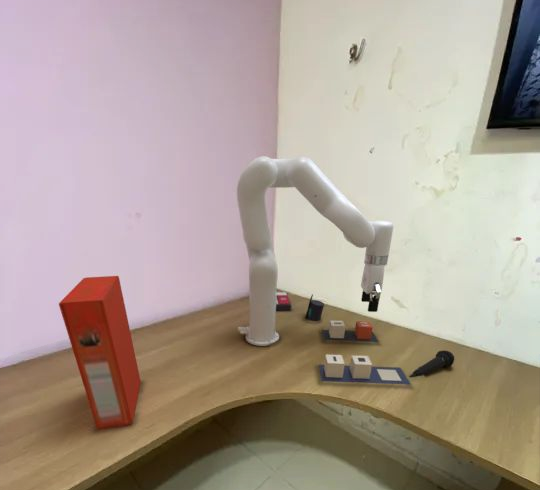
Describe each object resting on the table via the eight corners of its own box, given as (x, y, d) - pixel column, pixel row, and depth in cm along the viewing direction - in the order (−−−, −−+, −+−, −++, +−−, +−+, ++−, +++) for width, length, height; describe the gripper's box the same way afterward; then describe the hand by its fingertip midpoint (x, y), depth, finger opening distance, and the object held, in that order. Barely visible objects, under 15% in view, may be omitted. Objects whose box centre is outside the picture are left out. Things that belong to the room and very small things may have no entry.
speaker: (300, 319, 133) (304, 296, 128) (306, 315, 137) (311, 293, 132) (315, 325, 129) (321, 302, 124) (322, 321, 133) (327, 299, 129)
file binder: (96, 429, 73) (58, 302, 59) (110, 386, 88) (83, 277, 74) (132, 424, 75) (104, 299, 61) (141, 383, 90) (120, 275, 76)
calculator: (267, 303, 139) (264, 291, 152) (266, 312, 141) (264, 299, 154) (291, 303, 140) (286, 291, 153) (290, 312, 142) (286, 299, 155)
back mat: (324, 342, 115) (324, 340, 114) (321, 331, 123) (321, 329, 122) (378, 344, 114) (378, 342, 114) (372, 333, 122) (372, 331, 122)
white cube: (325, 377, 93) (327, 362, 90) (323, 368, 97) (325, 354, 95) (342, 377, 92) (344, 363, 90) (339, 368, 97) (341, 354, 95)
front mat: (321, 383, 91) (321, 380, 91) (318, 367, 99) (318, 364, 99) (410, 387, 91) (410, 384, 90) (399, 370, 99) (400, 367, 98)
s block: (357, 338, 116) (359, 326, 113) (354, 332, 120) (356, 321, 118) (370, 339, 116) (372, 327, 113) (367, 333, 120) (369, 321, 118)
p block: (352, 378, 92) (355, 363, 90) (349, 369, 97) (351, 355, 95) (369, 378, 92) (372, 364, 90) (365, 369, 97) (368, 355, 95)
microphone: (411, 390, 94) (452, 367, 102) (419, 379, 90) (461, 355, 98) (398, 377, 97) (439, 355, 105) (404, 366, 93) (447, 344, 101)
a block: (330, 337, 116) (331, 325, 114) (328, 332, 120) (329, 320, 118) (343, 338, 116) (345, 326, 114) (341, 332, 120) (343, 320, 118)
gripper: (359, 253, 113) (353, 297, 120) (371, 265, 97) (364, 315, 105) (379, 254, 113) (372, 298, 120) (395, 266, 97) (386, 315, 105)
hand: (368, 306), depth 113 cm, fingers open, 9 cm apart
